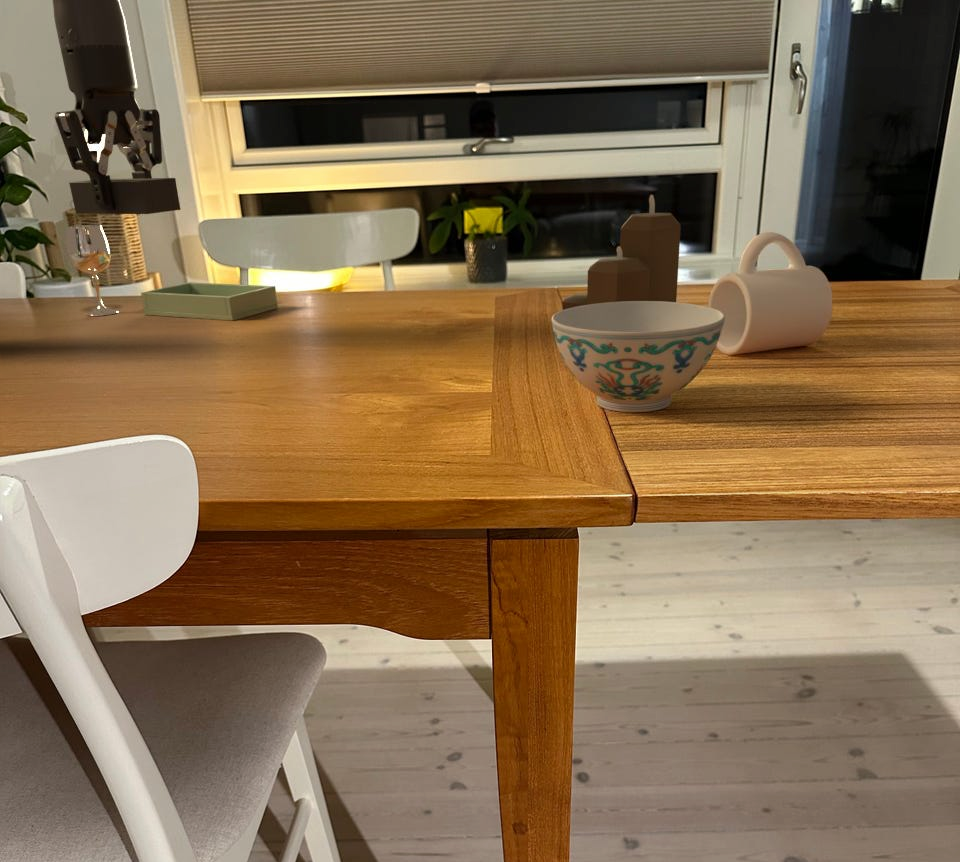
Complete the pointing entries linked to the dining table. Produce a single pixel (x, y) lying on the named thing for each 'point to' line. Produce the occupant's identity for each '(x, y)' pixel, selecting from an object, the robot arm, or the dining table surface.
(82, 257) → the wineglass
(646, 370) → the chinaware
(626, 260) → the candle
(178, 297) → the tray
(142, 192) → the dark brown rectangular box
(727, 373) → the dining table surface
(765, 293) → the mug
